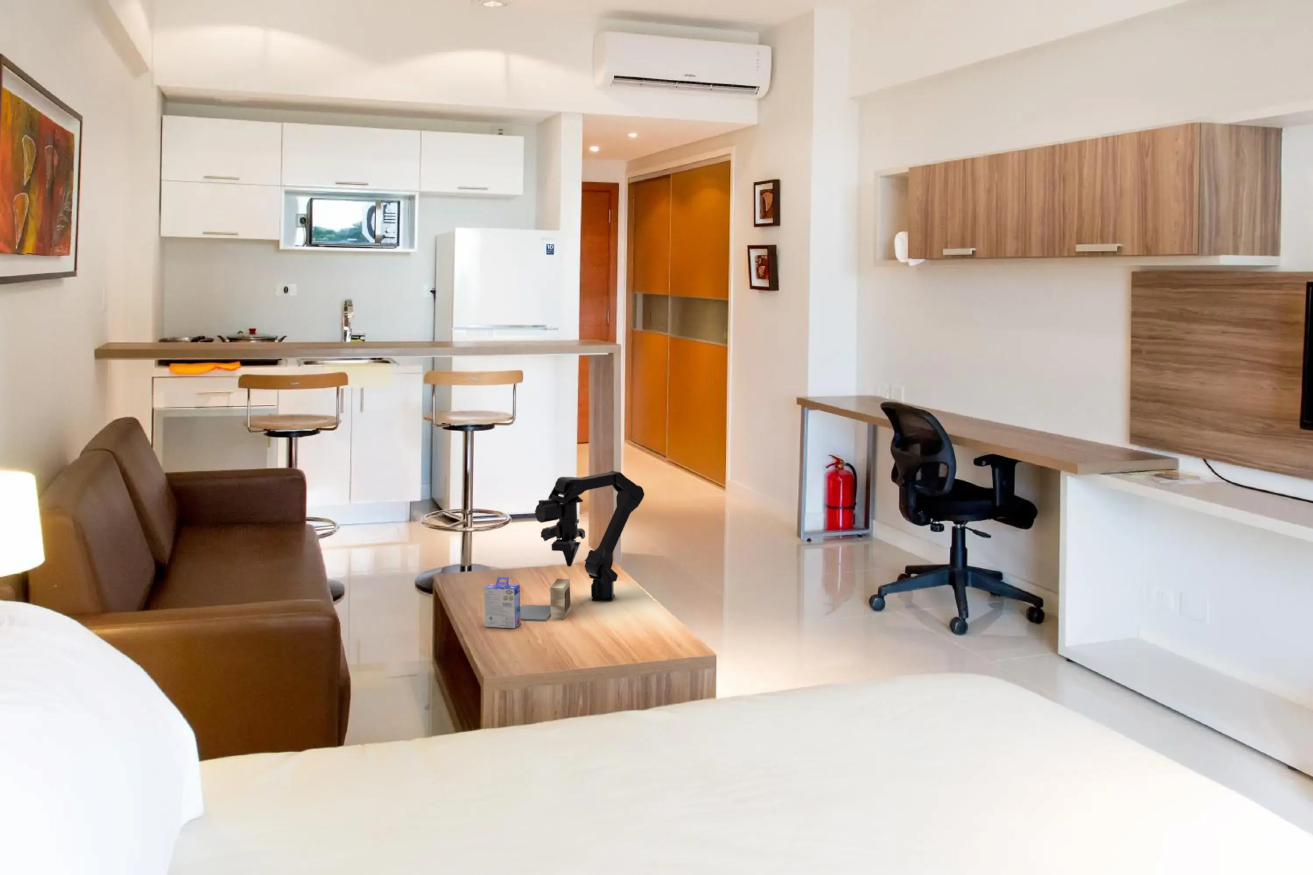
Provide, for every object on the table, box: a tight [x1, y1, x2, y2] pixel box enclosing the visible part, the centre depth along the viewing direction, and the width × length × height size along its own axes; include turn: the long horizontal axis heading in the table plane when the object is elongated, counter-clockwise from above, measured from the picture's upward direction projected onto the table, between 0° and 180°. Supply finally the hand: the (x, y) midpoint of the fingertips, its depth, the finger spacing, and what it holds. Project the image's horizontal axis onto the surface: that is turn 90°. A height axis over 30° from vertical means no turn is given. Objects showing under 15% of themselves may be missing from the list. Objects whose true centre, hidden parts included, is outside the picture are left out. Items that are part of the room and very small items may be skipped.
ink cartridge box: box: [483, 576, 522, 629], centre depth 348 cm, size 10×6×14 cm, turn 78°
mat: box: [520, 604, 551, 622], centre depth 360 cm, size 11×14×1 cm
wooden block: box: [549, 578, 572, 621], centre depth 358 cm, size 4×10×10 cm, turn 172°
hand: (569, 566), depth 366 cm, fingers closed
